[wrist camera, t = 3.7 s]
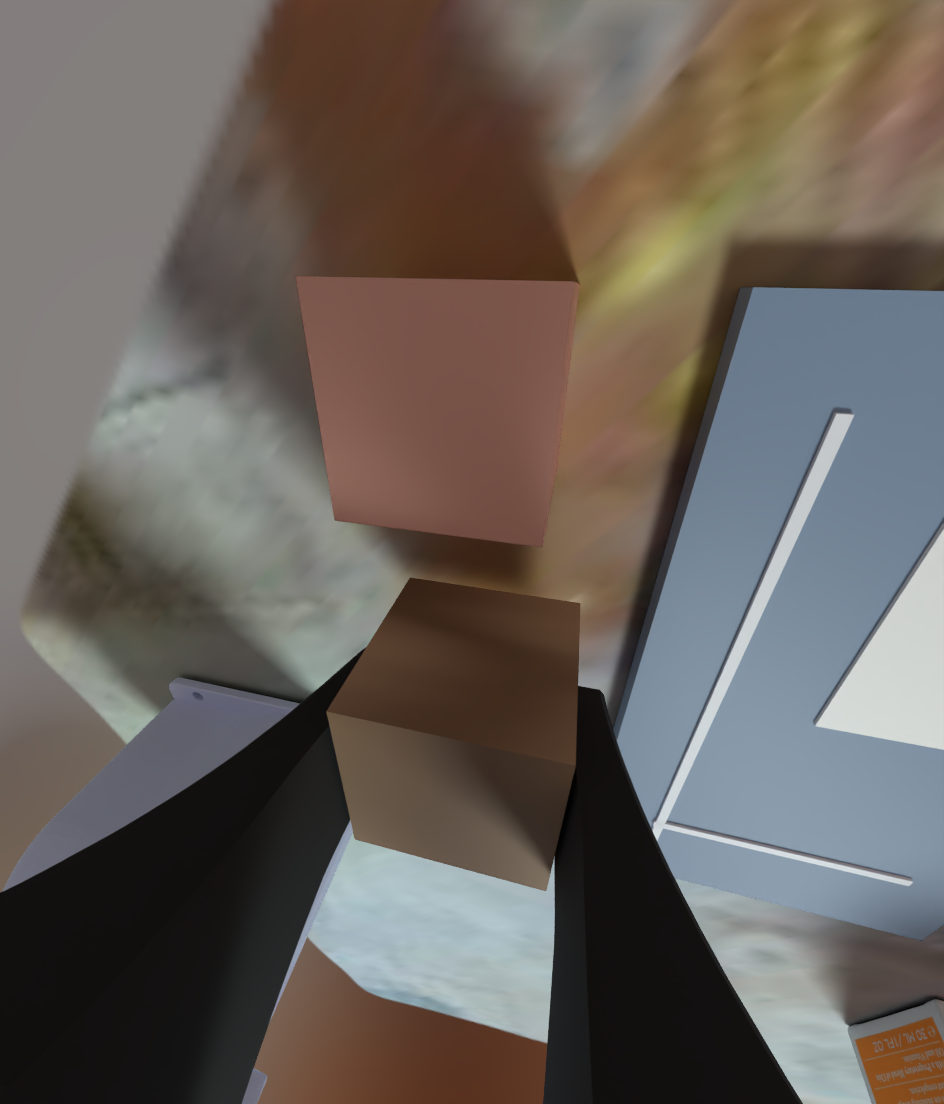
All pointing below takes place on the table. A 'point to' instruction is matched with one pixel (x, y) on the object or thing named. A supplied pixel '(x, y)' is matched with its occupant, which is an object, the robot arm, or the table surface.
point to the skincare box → (903, 1055)
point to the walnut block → (463, 729)
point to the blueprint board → (805, 618)
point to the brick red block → (441, 400)
